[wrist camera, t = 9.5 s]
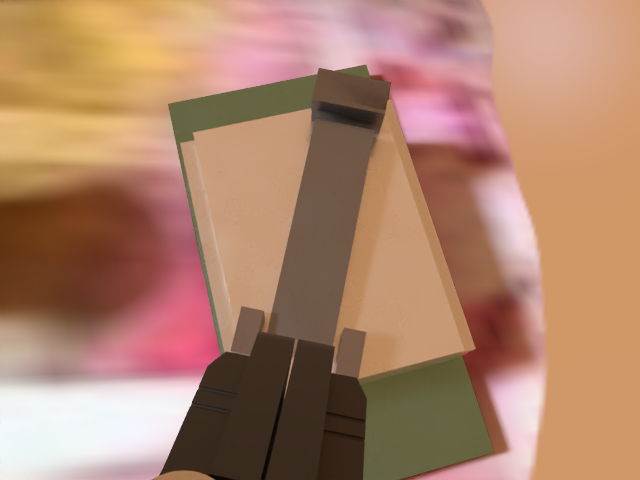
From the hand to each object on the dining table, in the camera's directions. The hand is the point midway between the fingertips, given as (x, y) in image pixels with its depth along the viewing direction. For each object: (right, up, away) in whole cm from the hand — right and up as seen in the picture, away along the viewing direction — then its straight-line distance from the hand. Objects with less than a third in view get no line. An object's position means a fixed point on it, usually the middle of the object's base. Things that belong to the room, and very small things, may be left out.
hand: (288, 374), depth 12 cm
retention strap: (+1, +3, +17) cm, 18 cm away
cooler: (0, +1, +23) cm, 23 cm away
